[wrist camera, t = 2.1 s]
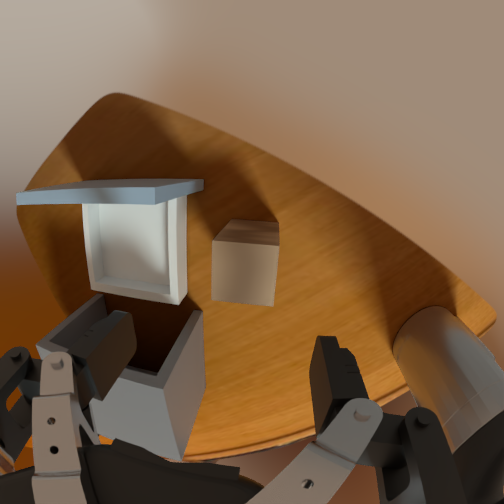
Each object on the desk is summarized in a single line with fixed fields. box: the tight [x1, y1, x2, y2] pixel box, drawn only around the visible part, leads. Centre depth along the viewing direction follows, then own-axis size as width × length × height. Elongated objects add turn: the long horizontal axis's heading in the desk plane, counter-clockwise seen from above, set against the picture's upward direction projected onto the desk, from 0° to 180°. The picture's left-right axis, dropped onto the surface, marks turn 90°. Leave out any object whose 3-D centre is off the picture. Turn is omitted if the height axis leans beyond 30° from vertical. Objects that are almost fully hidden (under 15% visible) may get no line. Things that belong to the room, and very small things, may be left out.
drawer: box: [16, 179, 204, 305], centre depth 22 cm, size 14×12×11 cm
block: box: [212, 219, 279, 306], centre depth 22 cm, size 4×4×8 cm
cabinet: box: [36, 293, 206, 461], centre depth 25 cm, size 14×12×12 cm
